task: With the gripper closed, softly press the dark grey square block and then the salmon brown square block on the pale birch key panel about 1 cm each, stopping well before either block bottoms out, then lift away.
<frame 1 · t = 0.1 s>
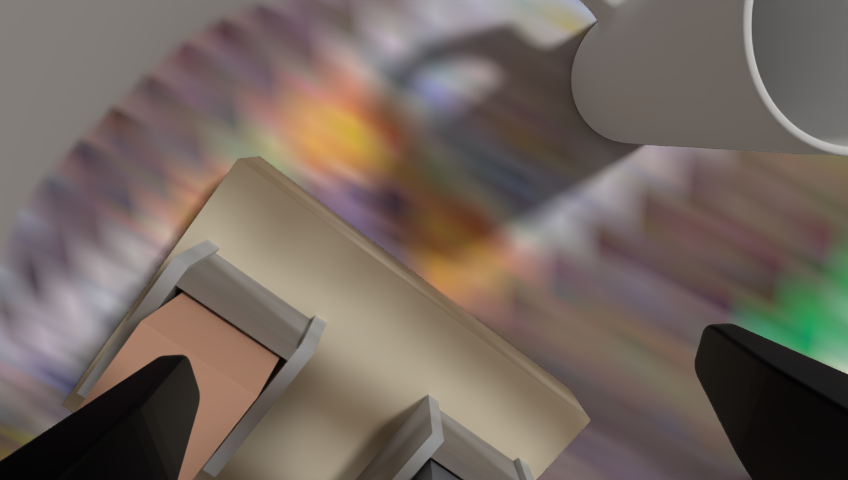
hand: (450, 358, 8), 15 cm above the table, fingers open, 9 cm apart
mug: (608, 53, 22), on the table
salmon brown square block: (184, 385, 17), point 7 cm above the table, slide at 0.0 cm
key panel: (342, 381, 25), on the table
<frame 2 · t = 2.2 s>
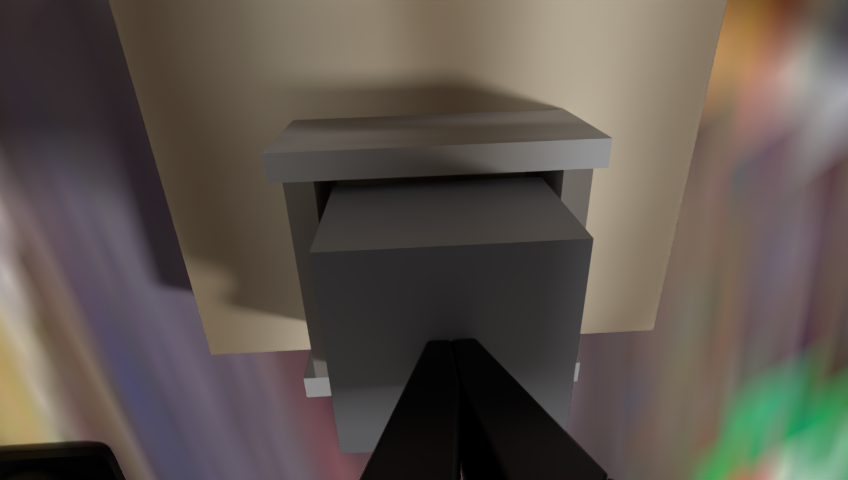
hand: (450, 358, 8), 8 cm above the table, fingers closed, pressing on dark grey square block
dark grey square block: (445, 308, 10), point 7 cm above the table, slide at 0.0 cm, touching gripper
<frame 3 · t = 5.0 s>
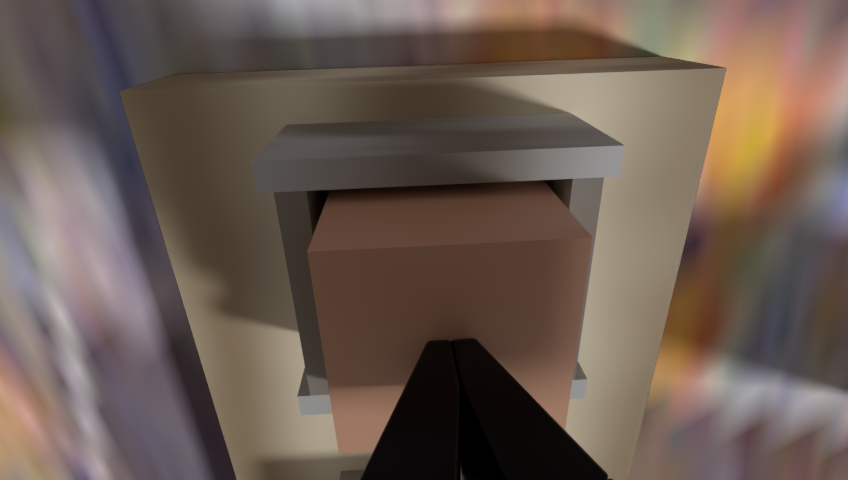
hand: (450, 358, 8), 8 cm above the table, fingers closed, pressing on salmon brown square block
salmon brown square block: (444, 308, 10), point 6 cm above the table, slide at 0.6 cm, touching gripper
key panel: (430, 344, 18), on the table
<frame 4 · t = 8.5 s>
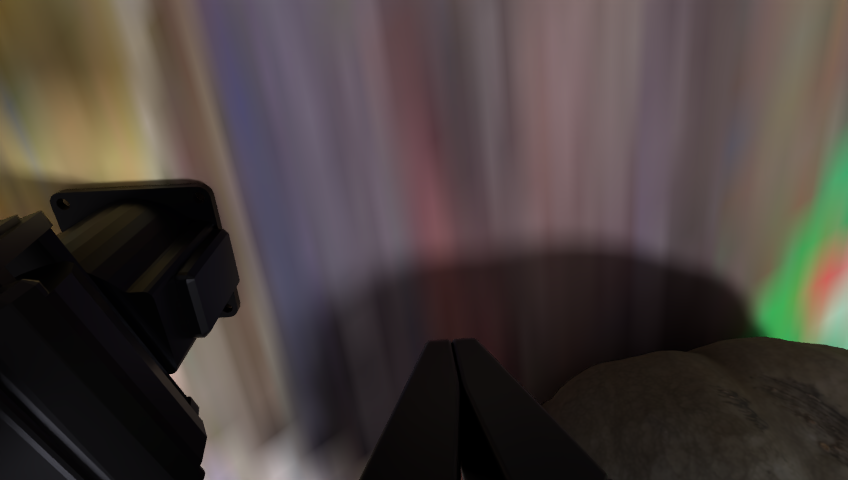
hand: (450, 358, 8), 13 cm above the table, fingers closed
gourd: (657, 445, 29), on the table
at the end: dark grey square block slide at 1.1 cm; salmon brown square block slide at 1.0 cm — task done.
